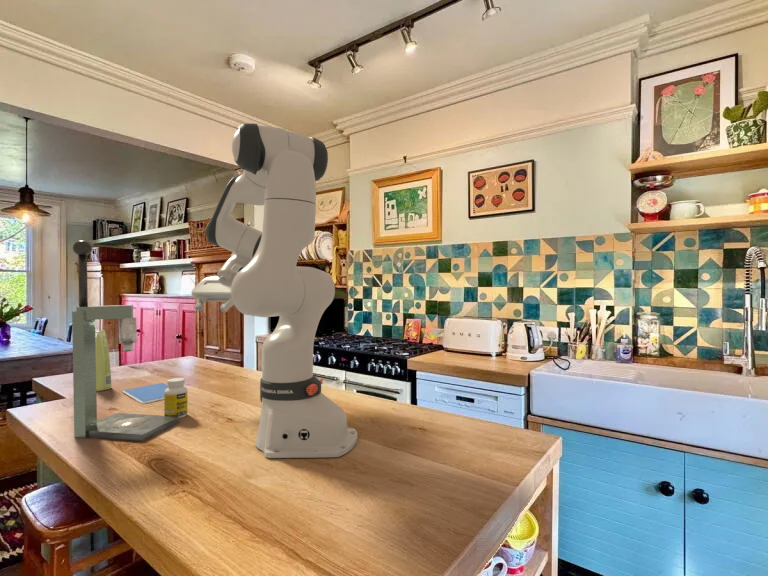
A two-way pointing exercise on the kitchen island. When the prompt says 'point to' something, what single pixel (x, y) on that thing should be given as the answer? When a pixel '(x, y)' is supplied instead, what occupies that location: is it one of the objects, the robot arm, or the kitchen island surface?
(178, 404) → the supplement bottle
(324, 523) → the kitchen island surface
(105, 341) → the tube
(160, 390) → the tablet computer
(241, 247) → the robot arm
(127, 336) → the press
